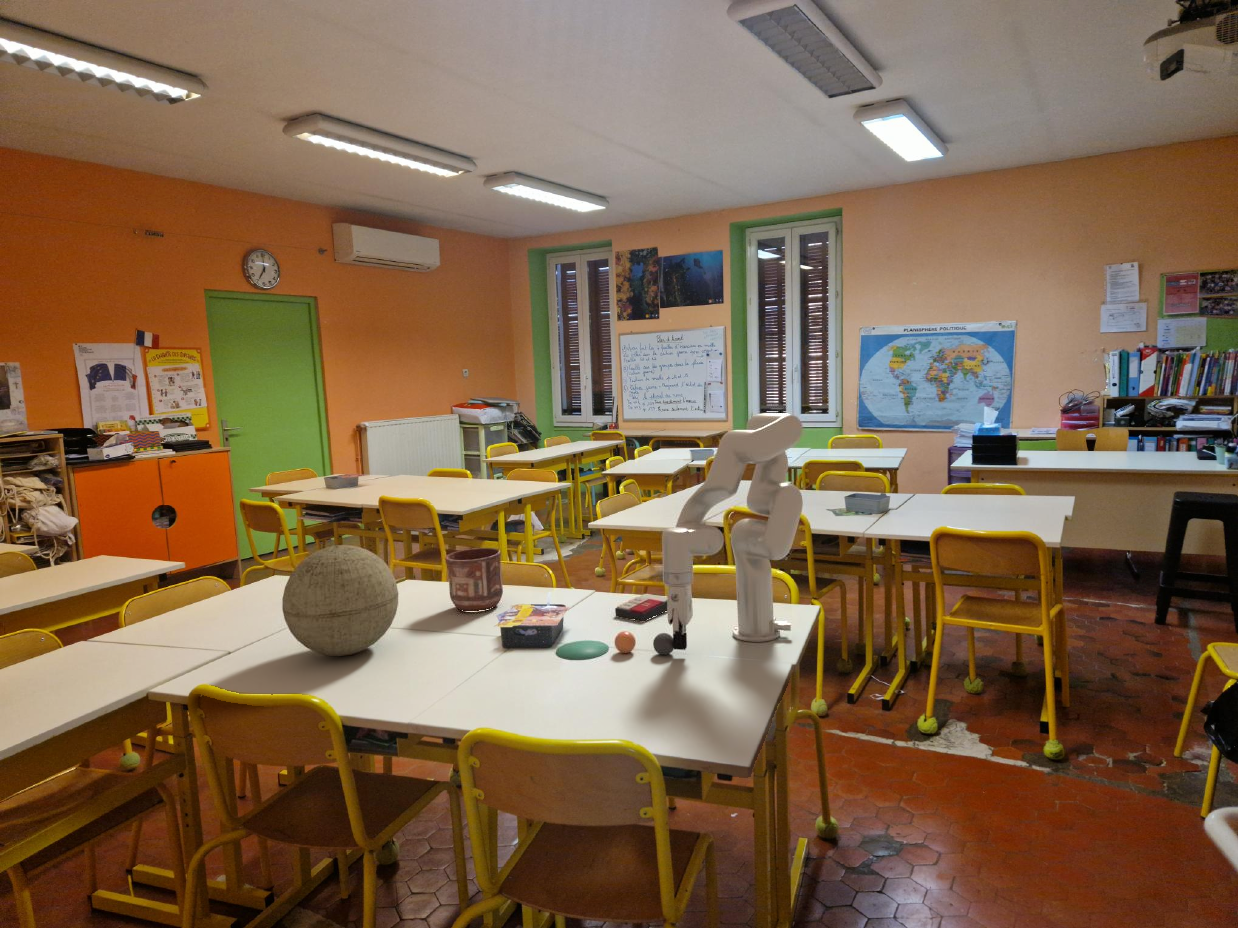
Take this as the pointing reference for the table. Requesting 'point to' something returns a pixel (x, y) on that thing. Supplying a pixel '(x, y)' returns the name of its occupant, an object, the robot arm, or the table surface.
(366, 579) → the celestial globe
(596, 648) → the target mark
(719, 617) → the table surface
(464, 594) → the pottery
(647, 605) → the calculator
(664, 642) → the ball
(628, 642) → the ball
